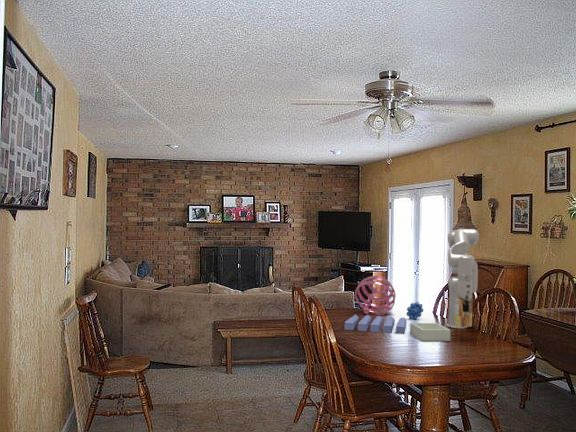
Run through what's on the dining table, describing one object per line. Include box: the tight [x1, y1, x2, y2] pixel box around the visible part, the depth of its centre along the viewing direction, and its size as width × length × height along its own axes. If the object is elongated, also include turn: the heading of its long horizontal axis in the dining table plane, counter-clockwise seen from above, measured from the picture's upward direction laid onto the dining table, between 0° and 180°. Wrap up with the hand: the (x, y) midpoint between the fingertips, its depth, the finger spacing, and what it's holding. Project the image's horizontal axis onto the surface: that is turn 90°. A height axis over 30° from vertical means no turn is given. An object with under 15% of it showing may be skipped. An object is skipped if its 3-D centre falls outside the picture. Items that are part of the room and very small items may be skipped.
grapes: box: [406, 301, 424, 321], centre depth 378 cm, size 12×7×12 cm, turn 99°
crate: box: [409, 322, 451, 343], centre depth 319 cm, size 16×20×6 cm
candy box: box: [455, 298, 474, 328], centre depth 315 cm, size 9×4×15 cm, turn 110°
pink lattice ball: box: [354, 275, 396, 317], centre depth 394 cm, size 28×28×27 cm
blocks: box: [344, 313, 407, 335], centre depth 348 cm, size 35×34×5 cm
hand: (463, 310), depth 315 cm, fingers closed on candy box, 5 cm apart
